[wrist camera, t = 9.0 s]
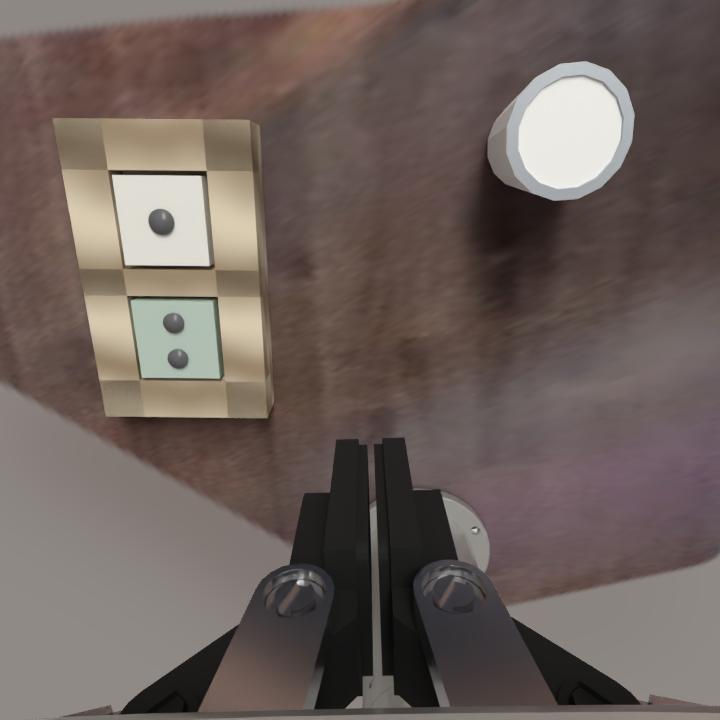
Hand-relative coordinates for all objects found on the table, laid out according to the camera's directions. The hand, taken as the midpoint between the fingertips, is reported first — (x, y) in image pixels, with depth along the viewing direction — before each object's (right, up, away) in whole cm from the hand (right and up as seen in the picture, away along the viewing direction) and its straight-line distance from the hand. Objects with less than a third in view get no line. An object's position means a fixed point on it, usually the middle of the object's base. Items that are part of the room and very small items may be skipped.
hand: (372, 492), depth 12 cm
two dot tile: (-13, +5, +24) cm, 28 cm away
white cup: (+11, +18, +21) cm, 30 cm away
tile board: (-13, +9, +24) cm, 29 cm away
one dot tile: (-13, +13, +21) cm, 28 cm away
